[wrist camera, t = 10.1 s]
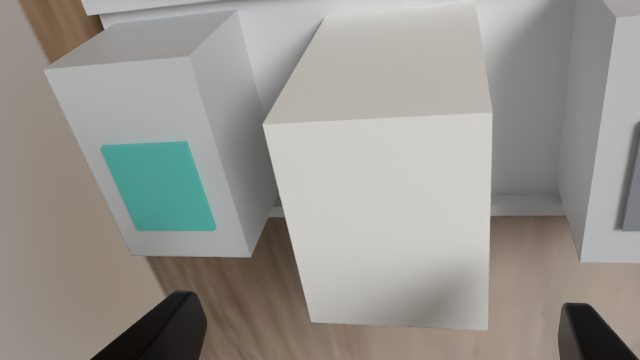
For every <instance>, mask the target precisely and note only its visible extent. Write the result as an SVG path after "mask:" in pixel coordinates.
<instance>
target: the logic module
mask: <svg viewBox="0 0 640 360" xmlns="http://www.w3.org/2000/svg"><path fill="white" fill-rule="evenodd" d="M492 115H493V112H492V106H491V99H490V93H489V86H488V80H487V73H486V67H485V61H484V54H483V48H482V41H481V35H480V28H479V22H478V16H477V9H476V3H475V1H474V2H465V3H455V4H445V5H435V6H426V7H416V8H406V9H397V10H387V11H377V12H367V13H358V14H348V15H338V16H329V17H325V18H324V20H323V22H322V23H321V25H320V27H319V28H318V30H317V32H316V33H315V35H314V37H313V39H312V40H311V42H310V44H309V45H308V47H307V49H306V51H305V52H304V54H303V56H302V57H301V59H300V61H299V63H298V64H297V66H296V68H295V69H294V71H293V73H292V75H291V76H290V78H289V80H288V81H287V83H286V85H285V87H284V88H283V90H282V92H281V93H280V95H279V97H278V99H277V100H276V102H275V104H274V105H273V107H272V109H271V110H270V112H269V114H268V116H267V117H266V119H265V121H264V122H263V124H262V125H263V129H264V133H265V137H266V141H267V145H268V149H269V153H270V157H271V161H272V166H273V170H274V174H275V178H276V182H277V186H278V190H279V194H280V198H281V202H282V206H283V210H284V214H285V218H286V222H287V226H288V230H289V234H290V238H291V242H292V246H293V250H294V254H295V258H296V262H297V267H298V271H299V275H300V279H301V283H302V287H303V291H304V295H305V299H306V303H307V307H308V311H309V315H310V319H311V322H315V323H337V324H358V325H380V326H401V327H423V328H444V329H466V330H487V331H488V291H489V247H490V203H491V159H492Z"/></svg>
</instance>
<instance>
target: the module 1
mask: <svg viewBox="0 0 640 360" xmlns="http://www.w3.org/2000/svg"><path fill="white" fill-rule="evenodd" d="M43 71H44V73H45V75H46V77H47V79H48V81H49V83H50V85H51V87H52V89H53V91H54V94H55V96H56V98H57V100H58V102H59V104H60V106H61V108H62V110H63V112H64V115H65V117H66V119H67V121H68V123H69V125H70V127H71V129H72V132H73V134H74V136H75V138H76V140H77V142H78V144H79V146H80V148H81V150H82V153H83V155H84V157H85V159H86V161H87V163H88V165H89V167H90V169H91V171H92V174H93V176H94V178H95V180H96V182H97V184H98V186H99V188H100V190H101V192H102V195H103V197H104V199H105V201H106V203H107V205H108V207H109V209H110V211H111V214H112V216H113V218H114V220H115V222H116V224H117V226H118V228H119V230H120V233H121V235H122V237H123V239H124V241H125V243H126V245H127V247H128V249H129V251H130V253H131V256H189V257H251V256H252V253H253V251H254V249H255V246H256V244H257V242H258V240H259V237H260V235H261V233H262V230H263V228H264V226H265V224H266V221H267V219H268V217H269V214H270V212H271V210H272V208H273V205H274V203H275V201H276V198H277V196H278V194H279V190H278V186H277V182H276V178H275V174H274V170H273V166H272V161H271V157H270V153H269V149H268V145H267V141H266V137H265V133H264V129H263V125H262V124H263V122H264V121H265V120H264V116H263V112H262V107H261V103H260V99H259V95H258V91H257V87H256V83H255V79H254V75H253V71H252V67H251V62H250V58H249V54H248V50H247V46H246V42H245V38H244V34H243V30H242V26H241V22H240V17H239V13H238V9H236V10H227V11H218V12H209V13H201V14H192V15H183V16H174V17H165V18H156V19H147V20H138V21H129V22H120V23H115V24H113V25H111V26H110V27H108V28H107V29H105V30H104V31H102V32H101V33H99V34H97V35H96V36H94V37H93V38H91V39H90V40H88V41H86V42H85V43H83V44H82V45H80V46H79V47H77V48H76V49H74V50H72V51H71V52H69V53H68V54H66V55H65V56H63V57H62V58H60V59H58V60H57V61H55V62H54V63H52V64H51V65H49V66H48V67H46V68H44V69H43Z"/></svg>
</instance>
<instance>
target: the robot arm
mask: <svg viewBox="0 0 640 360" xmlns="http://www.w3.org/2000/svg"><path fill="white" fill-rule="evenodd" d="M206 329H207V319H206V316H205V313H204V311H203V308H202V306H201V303H200V301H199V299H198V296H197V294H196V293H195V292H193V291H175V292H173V293H172V294H170V295H169V296H168V297H167V298H165V299H164V300H163V301H162V302H161V303H159V304H158V305H157V306H156V307H154V308H153V309H152V310H151V311H149V312H148V313H147V314H146V315H144V316H143V317H142V318H141V319H140V320H138V321H137V322H136V323H135V324H133V325H132V326H131V327H130V328H128V329H127V330H126V331H125V332H123V333H122V334H121V335H120V336H119V337H117V338H116V339H115V340H114V341H112V342H111V343H110V344H109V345H108V346H106V347H105V348H104V349H103V350H101V351H100V352H99V353H98V354H96V355H95V356H94V357H93V358H91V359H90V360H199V357H200V353H201V349H202V345H203V341H204V337H205V333H206ZM558 346H559V354H560V360H639V359H638V358H637V357H636V356H635V354H634V353H633V352H632V351H631V350H630V349H629V348H628V347H627V345H626V344H625V343H624V342H623V341H622V340H621V339H620V338H619V336H618V335H617V334H616V333H615V332H614V331H613V330H612V329H611V328H610V326H609V325H608V324H607V323H606V322H605V321H604V320H603V319H602V317H601V316H600V315H599V314H598V313H597V312H596V311H595V310H594V308H593V307H592V306H590V305H589V304H586V303H565V304H563V306H562V309H561V316H560V324H559V331H558Z"/></svg>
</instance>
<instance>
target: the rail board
mask: <svg viewBox="0 0 640 360" xmlns="http://www.w3.org/2000/svg"><path fill="white" fill-rule="evenodd" d="M474 1H475V3H476V9H477V16H478V22H479V28H480V35H481V41H482V48H483V54H484V61H485V67H486V73H487V80H488V86H489V93H490V99H491V106H492V112H493V115H492V159H491V203H490V216H566V214H565V210H564V207H563V204H562V200H561V197H560V193H559V190H558V187H557V183H556V178H557V169H558V159H559V150H560V140H561V130H562V121H563V111H564V101H565V92H566V82H567V73H568V63H569V53H570V44H571V34H572V25H573V15H574V5H575V0H81V2H82V4H83V7H84V9H85V12H86V14H87V15H96V14H99V17H100V19H101V22H102V24H103V27H104V30H105V29H107V28H108V27H110V26H111V25H113V24H115V23H120V22H129V21H138V20H147V19H156V18H165V17H174V16H183V15H192V14H201V13H209V12H218V11H227V10H236V9H238V13H239V17H240V22H241V26H242V30H243V34H244V38H245V42H246V46H247V50H248V54H249V58H250V62H251V67H252V71H253V75H254V79H255V83H256V87H257V91H258V95H259V99H260V103H261V107H262V112H263V116H264V120H265V119H266V117H267V116H268V114H269V112H270V110H271V109H272V107H273V105H274V104H275V102H276V100H277V99H278V97H279V95H280V93H281V92H282V90H283V88H284V87H285V85H286V83H287V81H288V80H289V78H290V76H291V75H292V73H293V71H294V69H295V68H296V66H297V64H298V63H299V61H300V59H301V57H302V56H303V54H304V52H305V51H306V49H307V47H308V45H309V44H310V42H311V40H312V39H313V37H314V35H315V33H316V32H317V30H318V28H319V27H320V25H321V23H322V22H323V20H324V18H325V17H329V16H338V15H348V14H358V13H367V12H377V11H387V10H397V9H406V8H416V7H426V6H435V5H445V4H455V3H465V2H474ZM269 217H285V214H284V210H283V206H282V202H281V198H280V194H278V196H277V198H276V201H275V203H274V205H273V208H272V210H271V212H270V214H269Z"/></svg>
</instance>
